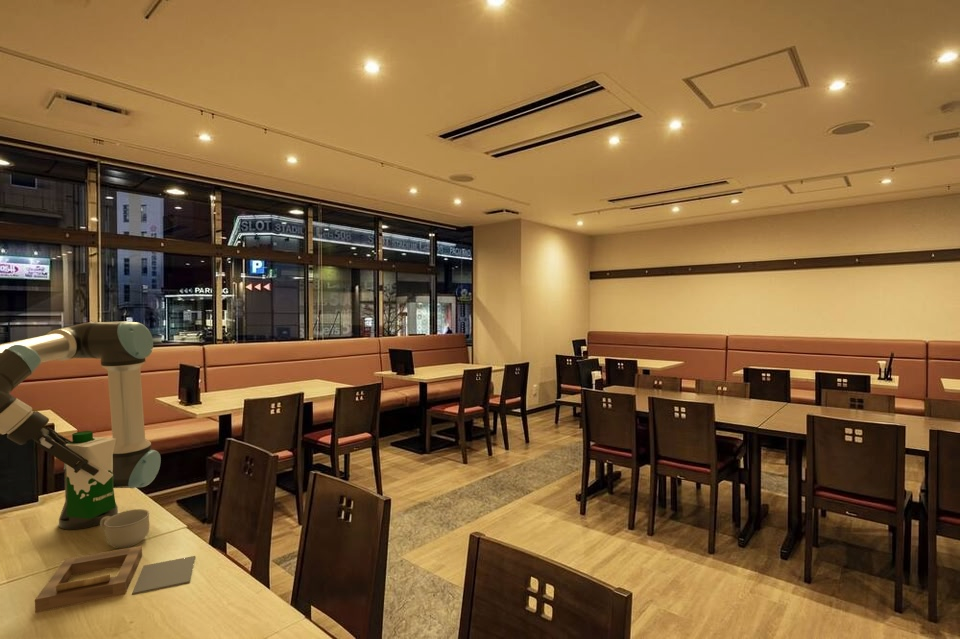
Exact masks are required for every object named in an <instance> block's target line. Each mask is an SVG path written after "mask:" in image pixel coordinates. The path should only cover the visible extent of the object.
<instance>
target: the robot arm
mask: <svg viewBox="0 0 960 639" xmlns="http://www.w3.org/2000/svg"><path fill="white" fill-rule="evenodd" d="M153 348H154V338H153V336H152V333H151V331H150V330H149V328H148V327H146V325H145V324H143V323H140V322H137V321H136V322H135V321H127V320H126V321H101V322H100V321H93V322H92V321H91V322H83V323H80V324H75V325H69V326H66V327H62V328H58V329H53V330H51V331H49V332H47V334H44V335H39V336H35V337H30V338H26V339H20V340H15V341H10V342H5V343H0V435H5V434H7V435H6V438H7V439H8V440H10V441H12V442H14V443H15V444H17V445H20V446H23V445H25V444H26V443H28V442H29V441H30V440H33V441H34V442H35V443H36V446H37V447H38V449H41V450H43V451H45V452H46V453H48V454H50V455H51V456H52V457H54V458H56V459H57V460H59V461H60V462H62V463H64V467H63V474H64V476H63V477H64V492H65V493H64V496H65V497H64V498H65V501H64V504H63V507H62V509H61V512H60V515H59V518H58V527H59V528H60V529H62V530H69V531H70V530H72V531H73V530H81V529H88V528H92V527H96V526H100V521H101V519H102V518H103V517H105V516H113V515H116V514H118V513H119V507H118V505H117V502H116V501H115V503H116V508H114V509H111V510H109V511H107V512H105V513H102V514H100V515H98V516H95V517H93V518H91V519H86V518H76V517H67V473H66V464H67V465H68V466H70V467H72V468H73V469H74V470H75V471H74V472H75V473H77V472H78V471H81V472H83V473H85V474H86V475H88V476H90V477H92V478H93V479H95V480H97V481H98V482H100V483H102V484H105V483H106V482H107V481H108V480H109V479H110V478H111V477H112V476H113V489H135V488H144V487H147V486H148V485H150V484H152V482H153V481H154V480H155V478H156V477H157V475H158V473H159V470H160V467H161V463H162V462H161V461H162V460H161V459H162V458H161V454H160V452H159V451H157V450H155V449H152V443H151V441H150V440H148V439H147V438H146V433H145V432H146V429H145V416H144V404H143V403H144V402H143V389H142V387H143V386H142V374H141V373H142V372H141V368H142V366H143V365H144V364H145V363H146V358H148V357H149V356H150V355H151V353H152V351H153ZM72 359H100V366H101V367H102V368H103V369H105V370H106V371H107V380H108V396H109V407H110V419H111V434H112V435H111V436H112V437H111V438H113V439H116V442H115V446H114V450H113V474H111V473H110V472H108V471H106V470H105V469H103V468H101V467H100V466H98V465H96V464H95V463H93V462H91V461H90V460H89V461H88V460H87V459H84V458H83V457H82V456H80V455H79V454H77V453H76V452H75V451H73V450H72V449H70V448H69V447H67V446H66V444H67V443H70V442H72V441H73V440H70V439H69V438H67V437H65V436H63V435H61V434H59V433H58V432H57V431H56V430H54V429H52V428H51V427H46V425H47V424H48V423H49V420H50V418H49V417H47V416H46V415H44V414H43V413H41V412H40V411H38V410H33V407H32V406H30V405H29V404H27V403H25V402H24V401H22V400H21V399H19V398H18V397H15V396H13V395H12V394H10V393H11V392H12V391H13V390H14V389H15V388H17V387H18V386H19V385H20V384H21V383H23V382H24V381H25V380H26V379H28V377H29V376H31V375H33V373H34V372H35V370H36V369H37V368H39V366H40V365H41V364H42V363H45V362H50V361H54V360H55V361H60V362H61V361H62V362H63V361H67V360H72ZM45 427H46V428H45ZM77 462H78V463H77ZM76 463H77V464H76Z"/></svg>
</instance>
